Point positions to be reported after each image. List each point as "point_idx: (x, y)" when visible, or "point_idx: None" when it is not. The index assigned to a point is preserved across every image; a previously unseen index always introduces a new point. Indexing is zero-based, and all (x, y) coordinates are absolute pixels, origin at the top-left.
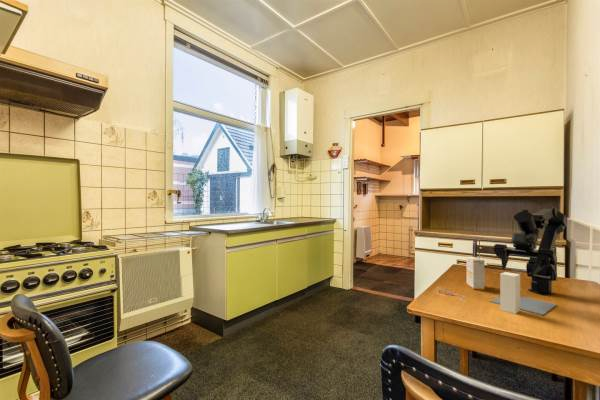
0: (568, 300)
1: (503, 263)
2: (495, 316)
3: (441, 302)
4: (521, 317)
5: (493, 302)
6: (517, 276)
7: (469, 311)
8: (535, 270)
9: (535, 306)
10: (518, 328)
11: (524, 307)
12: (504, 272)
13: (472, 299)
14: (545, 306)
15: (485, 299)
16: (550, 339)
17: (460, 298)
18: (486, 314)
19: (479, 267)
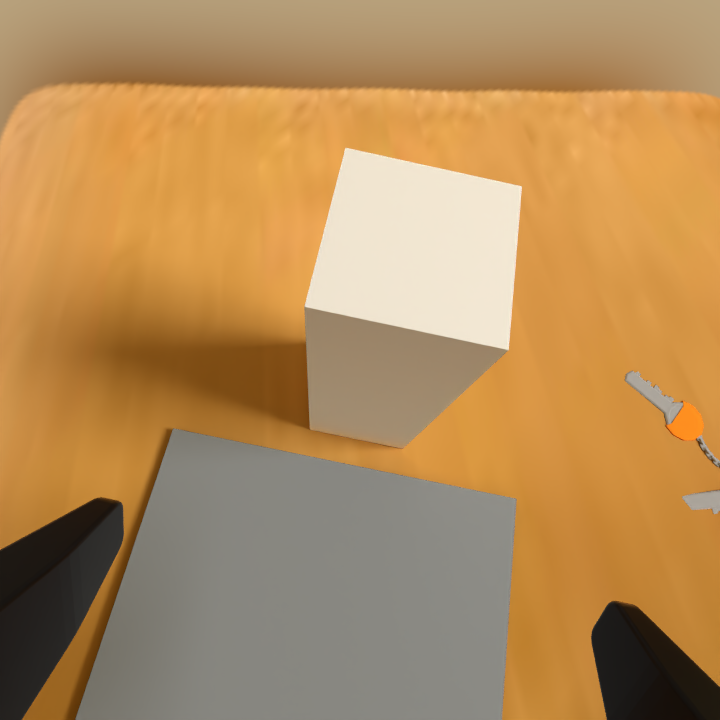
0: None
1: (706, 703)
2: None
3: (706, 262)
4: (293, 303)
5: (489, 494)
6: (327, 224)
7: (536, 218)
8: (26, 546)
9: (211, 614)
10: (295, 140)
11: (286, 511)
12: (503, 292)
13: (619, 466)
14: (133, 690)
15: (557, 544)
16: (171, 101)
17: (680, 421)
18: None
19: None
